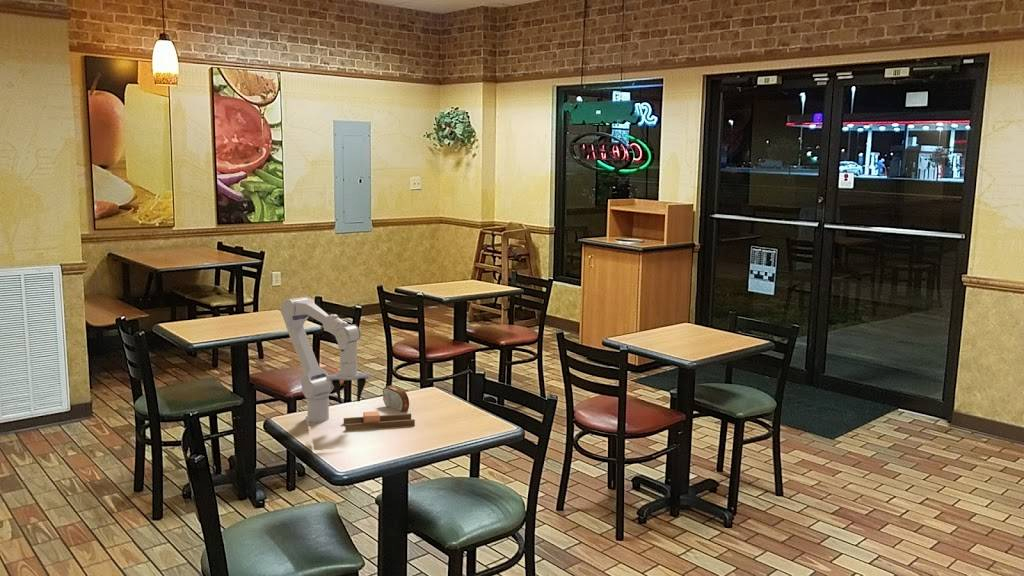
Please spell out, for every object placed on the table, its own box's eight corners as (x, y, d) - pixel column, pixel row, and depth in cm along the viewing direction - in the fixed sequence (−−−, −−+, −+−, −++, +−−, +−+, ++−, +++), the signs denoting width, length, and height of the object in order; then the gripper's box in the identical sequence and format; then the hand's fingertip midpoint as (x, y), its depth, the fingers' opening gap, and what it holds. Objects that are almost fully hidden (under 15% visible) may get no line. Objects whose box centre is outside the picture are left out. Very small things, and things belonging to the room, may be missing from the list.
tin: (410, 414, 293) (410, 391, 292) (402, 415, 291) (402, 392, 290) (388, 404, 305) (388, 382, 303) (381, 406, 303) (381, 384, 301)
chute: (343, 426, 277) (343, 418, 277) (410, 421, 284) (410, 413, 284) (345, 433, 270) (345, 425, 269) (414, 428, 276) (414, 420, 276)
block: (363, 423, 278) (363, 412, 277) (378, 422, 279) (378, 411, 279) (365, 427, 273) (365, 416, 272) (380, 426, 274) (380, 415, 274)
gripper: (327, 365, 265) (327, 405, 267) (371, 363, 269) (372, 403, 271) (325, 360, 272) (326, 400, 273) (369, 358, 276) (369, 397, 278)
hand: (348, 401), depth 273 cm, fingers open, 6 cm apart
